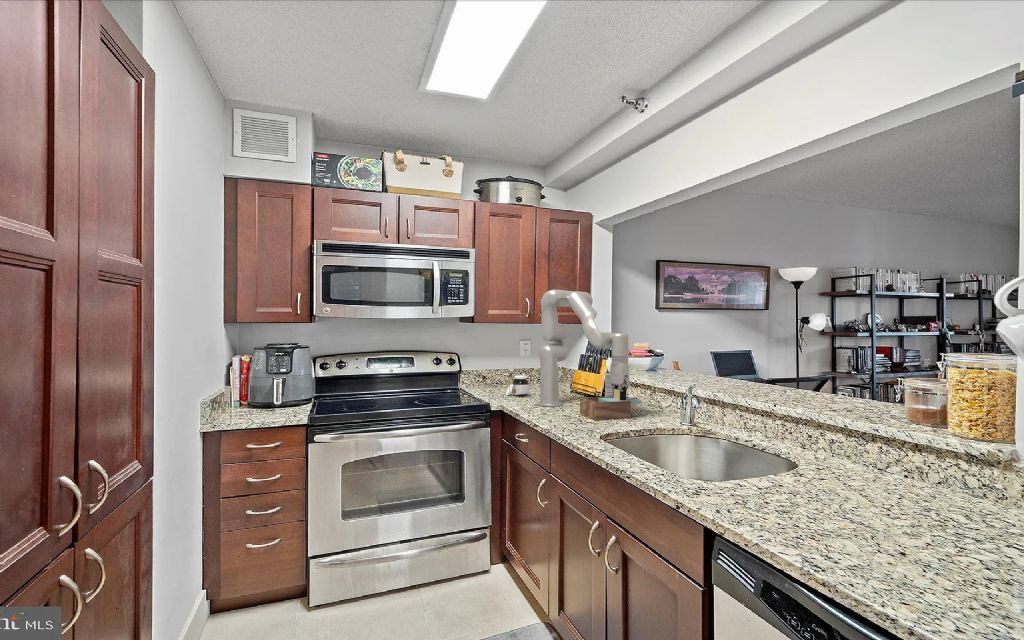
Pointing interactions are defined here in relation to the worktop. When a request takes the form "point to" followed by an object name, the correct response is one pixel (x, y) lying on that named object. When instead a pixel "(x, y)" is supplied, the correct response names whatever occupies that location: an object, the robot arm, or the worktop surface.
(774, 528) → the worktop surface
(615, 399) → the cover plate
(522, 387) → the spread jar
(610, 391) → the supplement box
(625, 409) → the slide box
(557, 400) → the robot arm
